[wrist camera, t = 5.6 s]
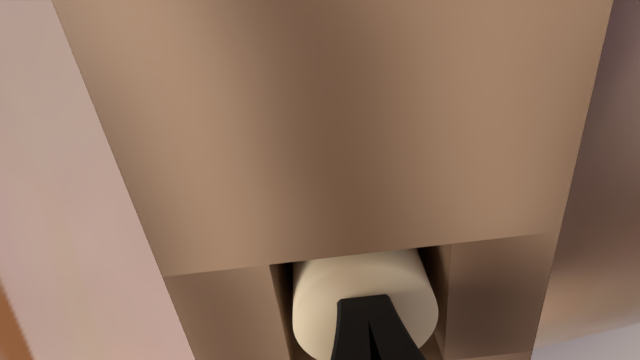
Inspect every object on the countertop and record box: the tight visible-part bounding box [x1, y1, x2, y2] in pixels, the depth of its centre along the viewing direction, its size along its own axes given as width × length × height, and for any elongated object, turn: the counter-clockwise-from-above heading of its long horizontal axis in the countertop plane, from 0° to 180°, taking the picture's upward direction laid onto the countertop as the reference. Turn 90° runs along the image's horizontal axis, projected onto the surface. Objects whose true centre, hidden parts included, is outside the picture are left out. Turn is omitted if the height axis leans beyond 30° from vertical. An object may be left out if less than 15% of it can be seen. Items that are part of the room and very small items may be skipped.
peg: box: [293, 248, 438, 360], centre depth 14 cm, size 4×4×5 cm
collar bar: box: [52, 0, 613, 360], centre depth 11 cm, size 10×20×5 cm, turn 6°
